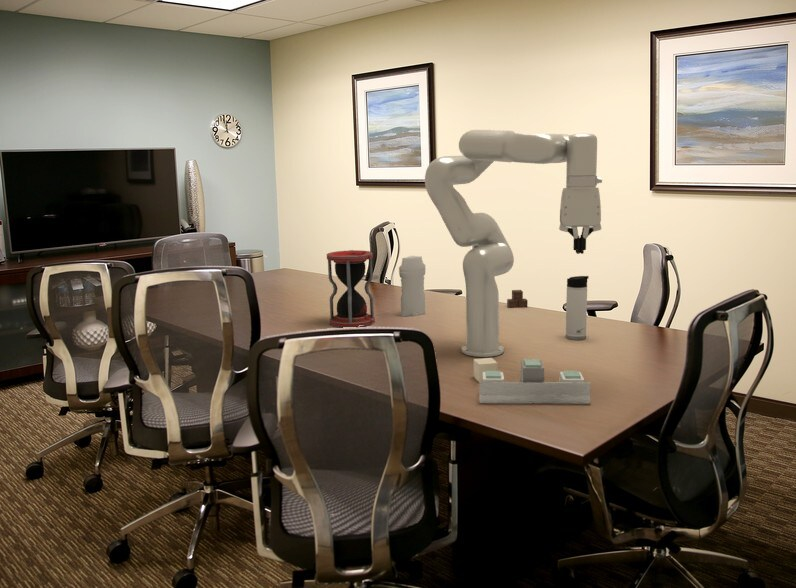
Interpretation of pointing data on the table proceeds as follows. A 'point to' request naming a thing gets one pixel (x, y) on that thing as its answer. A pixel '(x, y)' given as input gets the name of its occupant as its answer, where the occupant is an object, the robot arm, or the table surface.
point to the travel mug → (576, 307)
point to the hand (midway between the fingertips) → (579, 252)
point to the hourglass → (350, 288)
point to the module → (532, 370)
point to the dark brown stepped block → (517, 300)
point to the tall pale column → (412, 286)
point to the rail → (535, 392)
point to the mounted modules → (564, 376)
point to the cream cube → (483, 367)
